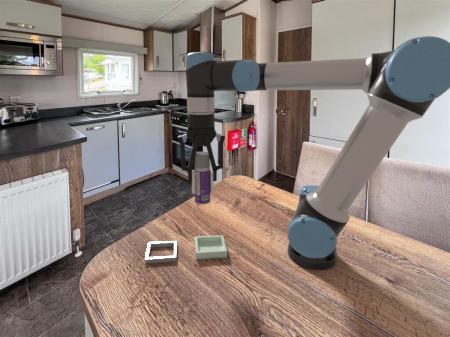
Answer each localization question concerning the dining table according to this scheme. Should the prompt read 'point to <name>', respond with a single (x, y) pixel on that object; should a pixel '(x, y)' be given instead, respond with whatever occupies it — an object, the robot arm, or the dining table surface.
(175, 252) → the collar
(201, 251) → the tray
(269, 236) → the dining table surface
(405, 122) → the robot arm
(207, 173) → the container
